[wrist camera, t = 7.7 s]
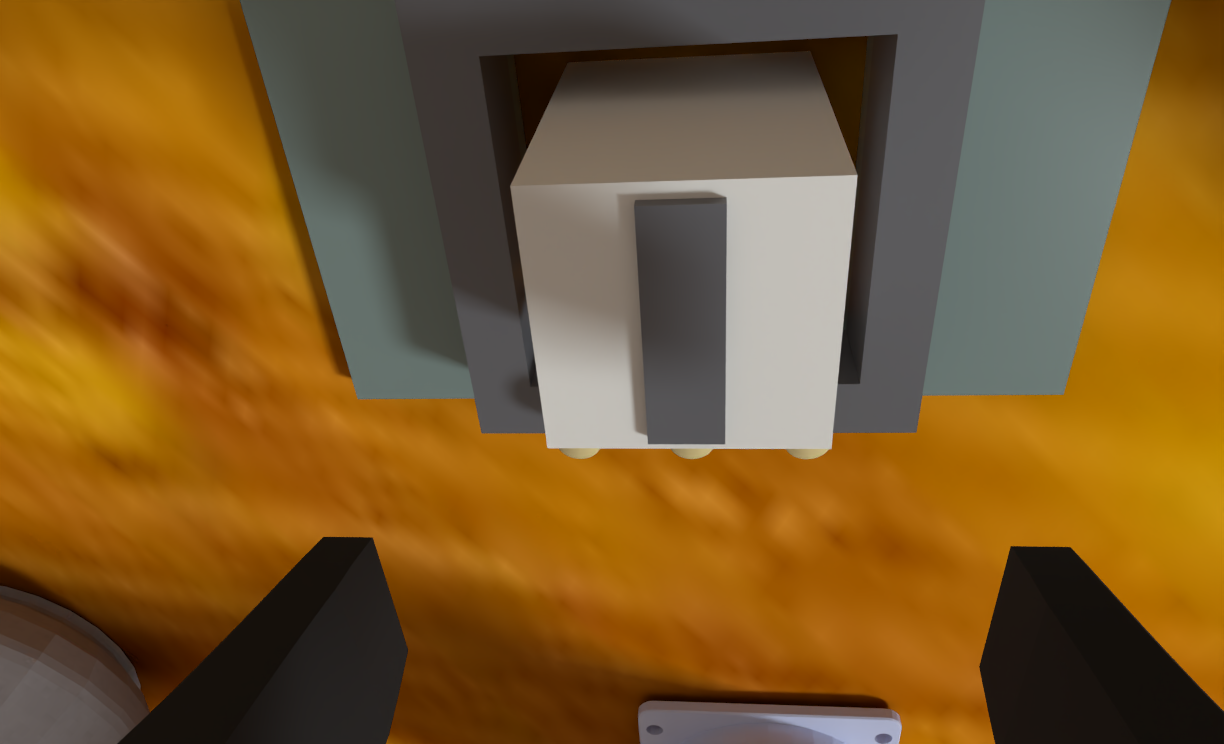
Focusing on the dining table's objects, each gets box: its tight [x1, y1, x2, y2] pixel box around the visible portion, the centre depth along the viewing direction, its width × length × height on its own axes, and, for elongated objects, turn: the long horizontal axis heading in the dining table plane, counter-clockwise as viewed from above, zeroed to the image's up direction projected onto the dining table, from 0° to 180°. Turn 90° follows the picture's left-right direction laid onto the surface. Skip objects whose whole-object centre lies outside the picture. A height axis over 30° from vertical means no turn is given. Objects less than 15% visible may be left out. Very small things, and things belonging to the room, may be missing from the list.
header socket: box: [240, 0, 1171, 459], centre depth 15 cm, size 14×16×4 cm
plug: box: [510, 51, 858, 449], centre depth 15 cm, size 4×4×6 cm
